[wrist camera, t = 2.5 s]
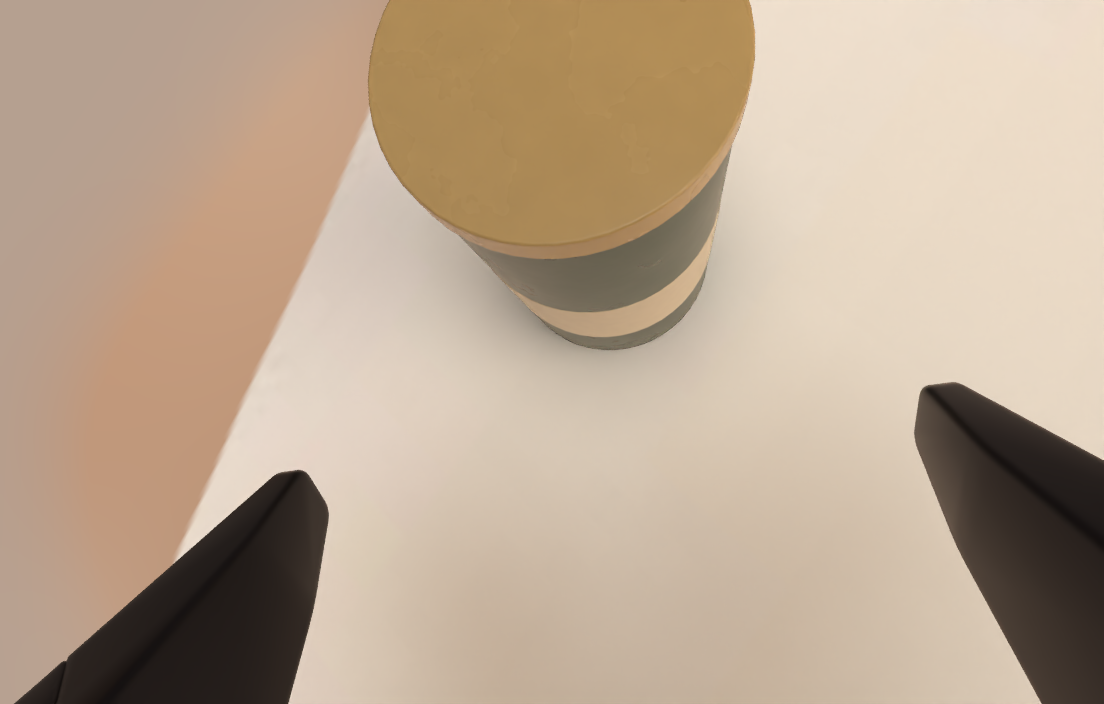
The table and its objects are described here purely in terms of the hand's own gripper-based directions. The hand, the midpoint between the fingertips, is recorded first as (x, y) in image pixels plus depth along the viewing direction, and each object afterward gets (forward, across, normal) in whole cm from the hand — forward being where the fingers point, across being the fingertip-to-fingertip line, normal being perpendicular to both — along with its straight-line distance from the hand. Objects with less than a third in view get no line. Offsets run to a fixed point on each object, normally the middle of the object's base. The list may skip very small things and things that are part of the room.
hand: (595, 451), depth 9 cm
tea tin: (+14, 0, +4) cm, 14 cm away
